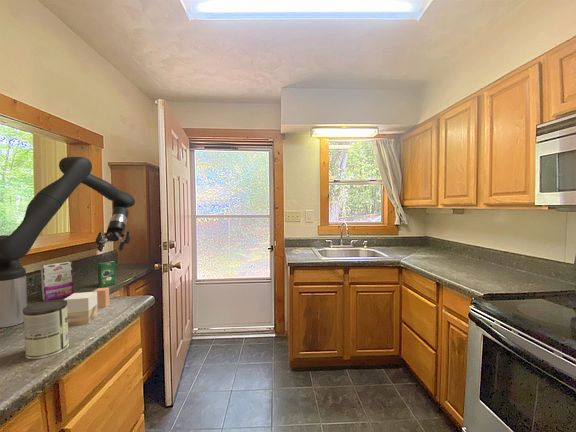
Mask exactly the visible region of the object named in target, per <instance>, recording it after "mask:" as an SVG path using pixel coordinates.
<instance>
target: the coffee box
mask: <svg viewBox="0 0 576 432" xmlns="http://www.w3.org/2000/svg"><path fill="white" fill-rule="evenodd" d="M97 266H98V267H97V277H98V278H97V280H98V282H97V283H98V284H97V286H98V288H106V287H110V286H113V285H116V261H115V260H112V261H111V260H110V261H106V262H99V263H98V264H97Z"/></svg>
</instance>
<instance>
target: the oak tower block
mask: <svg viewBox="0 0 576 432" xmlns="http://www.w3.org/2000/svg"><path fill="white" fill-rule="evenodd" d="M98 309H99V308H97V305H95V306H94V307H93V308H92V309H91V310H89V311H84V312H73V313H67V317H68V327H72V326H80V325H81V326H82V325H90V323H92V322H93V321H94V320H95V319H96V318H97V317H98V316H99V314H98V313H99V312H98V311H99V310H98Z"/></svg>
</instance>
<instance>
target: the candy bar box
mask: <svg viewBox="0 0 576 432" xmlns="http://www.w3.org/2000/svg"><path fill="white" fill-rule="evenodd" d="M40 275H41V277H40V278H41V291H42V292H41V294H42V295H41V296H42V300H43V302H44V301H49V300H59V299H62V298H67V297H69V296H70V295H72V294H73V293H74V281H73V278H74V277H73V263H72V262H71V261H64V262H58V263H57V262H56V263H51V264H49V263H48V264H45V265H43V264H42V265H40Z"/></svg>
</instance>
